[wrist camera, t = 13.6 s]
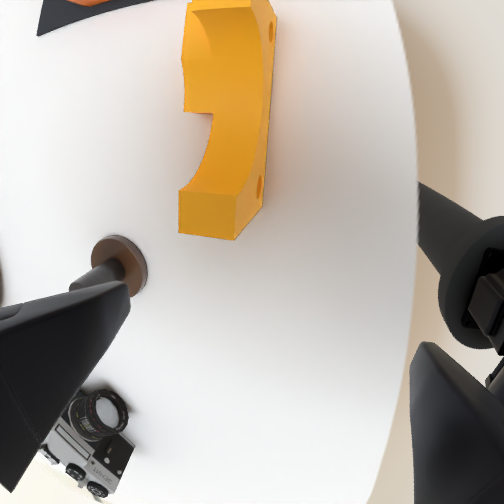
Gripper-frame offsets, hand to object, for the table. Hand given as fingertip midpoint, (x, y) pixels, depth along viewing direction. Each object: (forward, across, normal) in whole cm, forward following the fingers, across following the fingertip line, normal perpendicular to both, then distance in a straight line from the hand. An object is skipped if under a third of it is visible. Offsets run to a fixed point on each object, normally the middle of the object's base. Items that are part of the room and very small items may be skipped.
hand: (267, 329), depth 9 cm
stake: (+12, +13, +6) cm, 18 cm away
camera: (+12, +18, +26) cm, 34 cm away
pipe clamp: (+12, +5, -6) cm, 14 cm away
